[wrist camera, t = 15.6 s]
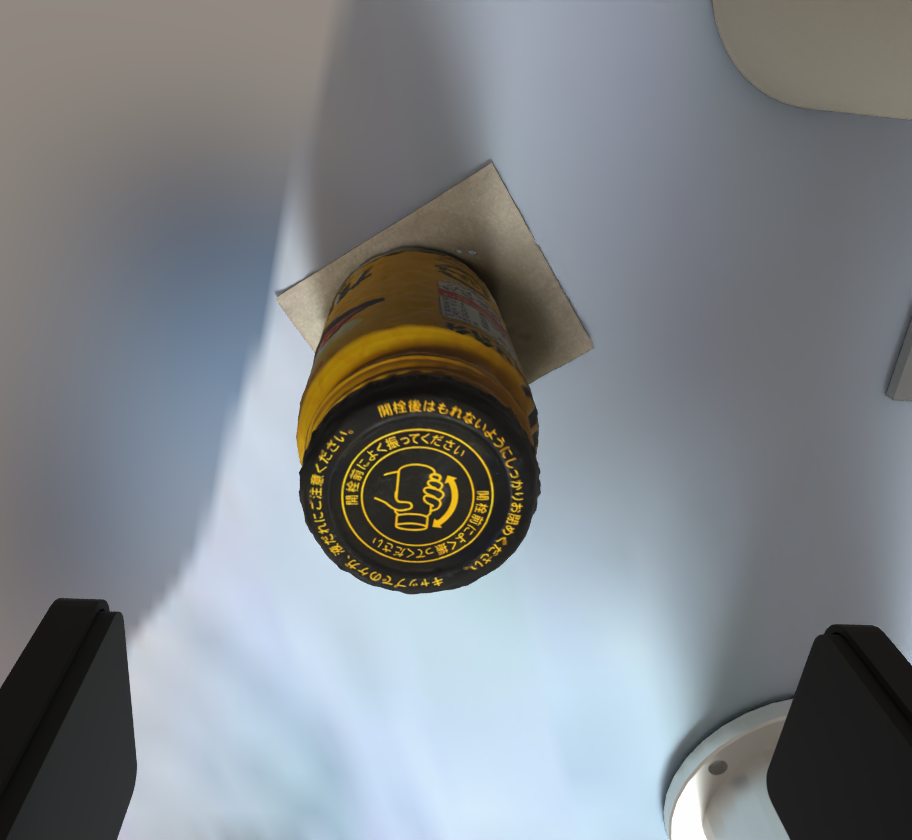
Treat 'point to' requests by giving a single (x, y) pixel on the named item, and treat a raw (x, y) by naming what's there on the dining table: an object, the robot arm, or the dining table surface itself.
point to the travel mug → (824, 52)
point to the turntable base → (902, 372)
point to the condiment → (429, 390)
